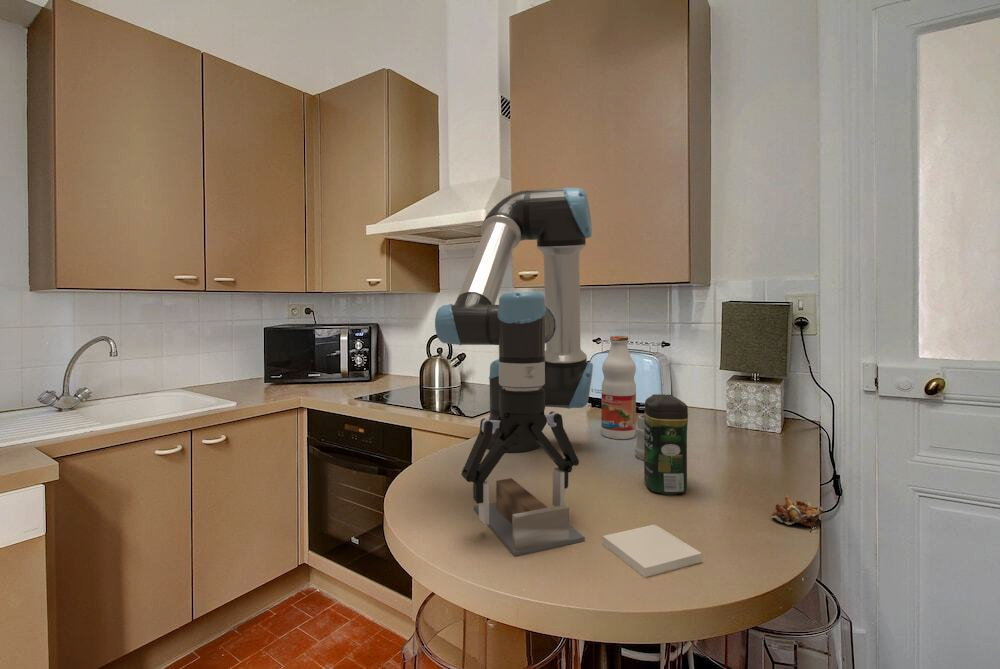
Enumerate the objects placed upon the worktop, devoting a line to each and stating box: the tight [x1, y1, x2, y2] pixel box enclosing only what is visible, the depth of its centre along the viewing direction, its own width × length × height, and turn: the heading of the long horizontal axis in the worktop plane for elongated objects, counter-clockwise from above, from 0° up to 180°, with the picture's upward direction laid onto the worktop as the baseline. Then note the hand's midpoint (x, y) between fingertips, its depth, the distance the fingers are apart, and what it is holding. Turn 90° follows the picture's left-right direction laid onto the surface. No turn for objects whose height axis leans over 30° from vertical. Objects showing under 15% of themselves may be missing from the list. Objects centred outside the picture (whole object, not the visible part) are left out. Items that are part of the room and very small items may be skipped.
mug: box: [634, 413, 645, 461], centre depth 115 cm, size 8×12×12 cm, turn 160°
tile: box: [602, 523, 703, 578], centre depth 72 cm, size 2×10×10 cm
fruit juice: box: [600, 335, 637, 440], centre depth 136 cm, size 9×9×28 cm
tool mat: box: [473, 496, 586, 557], centre depth 82 cm, size 18×12×1 cm, turn 22°
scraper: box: [495, 477, 570, 550], centre depth 81 cm, size 15×9×5 cm, turn 22°
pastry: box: [770, 494, 824, 534], centre depth 85 cm, size 7×12×4 cm, turn 140°
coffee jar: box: [643, 393, 689, 496], centre depth 98 cm, size 10×8×19 cm
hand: (522, 514), depth 81 cm, fingers open, 13 cm apart
